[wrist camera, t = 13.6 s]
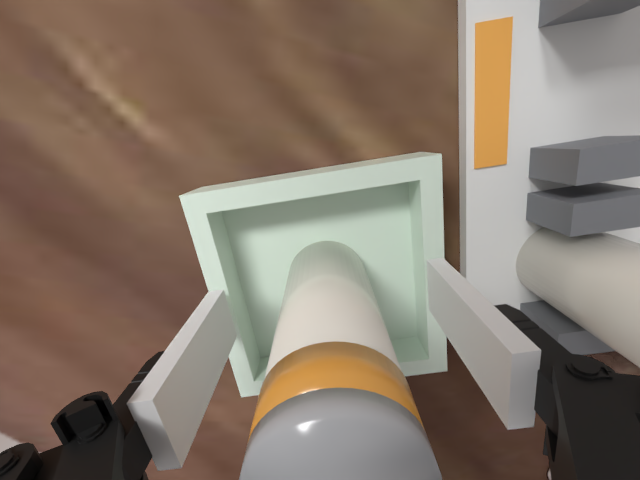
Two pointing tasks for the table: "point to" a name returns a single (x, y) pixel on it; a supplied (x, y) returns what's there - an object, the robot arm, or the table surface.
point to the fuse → (588, 283)
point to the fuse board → (545, 138)
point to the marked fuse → (334, 384)
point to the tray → (325, 225)
